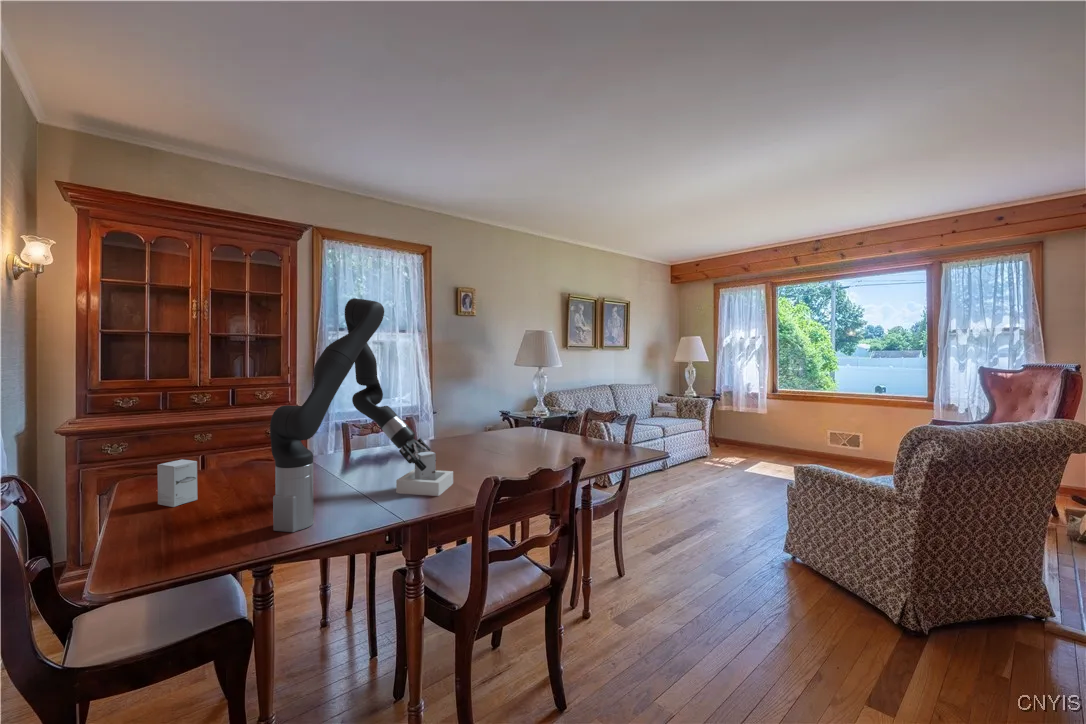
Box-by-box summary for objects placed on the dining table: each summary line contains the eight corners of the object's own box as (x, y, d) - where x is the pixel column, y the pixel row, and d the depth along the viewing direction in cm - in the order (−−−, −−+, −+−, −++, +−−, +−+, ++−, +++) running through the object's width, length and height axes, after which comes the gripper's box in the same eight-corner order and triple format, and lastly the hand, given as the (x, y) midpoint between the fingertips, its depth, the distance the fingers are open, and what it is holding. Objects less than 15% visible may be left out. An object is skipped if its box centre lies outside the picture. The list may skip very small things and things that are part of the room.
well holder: (438, 496, 155) (438, 482, 155) (396, 493, 157) (396, 480, 157) (453, 483, 169) (453, 471, 169) (414, 481, 171) (414, 469, 171)
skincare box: (420, 490, 159) (420, 455, 159) (414, 487, 163) (414, 453, 162) (436, 487, 164) (436, 452, 163) (429, 484, 167) (429, 450, 166)
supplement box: (173, 507, 141) (172, 466, 141) (157, 504, 144) (156, 464, 143) (198, 500, 148) (197, 460, 148) (182, 497, 151) (181, 458, 150)
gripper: (396, 428, 156) (428, 464, 155) (414, 421, 170) (444, 454, 169) (381, 443, 157) (413, 478, 156) (400, 435, 171) (430, 467, 170)
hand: (429, 465), depth 162 cm, fingers open, 8 cm apart
